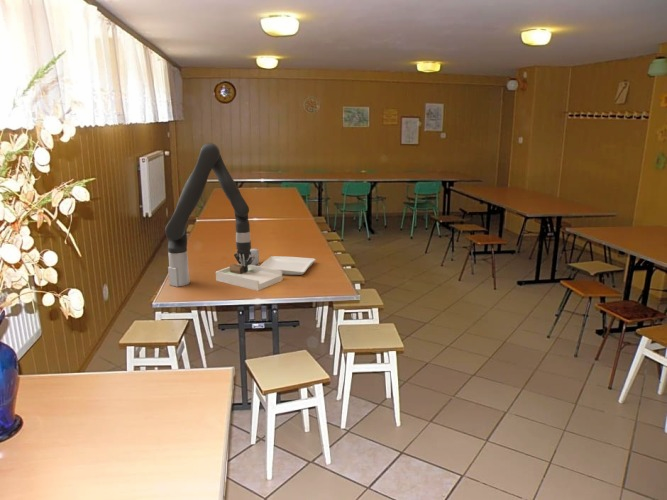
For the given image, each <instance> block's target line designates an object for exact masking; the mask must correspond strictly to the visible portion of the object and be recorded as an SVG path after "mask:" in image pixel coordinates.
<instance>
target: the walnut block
mask: <svg viewBox="0 0 667 500" xmlns="http://www.w3.org/2000/svg"><path fill="white" fill-rule="evenodd" d="M229 267H230V272H231V273H236V274H242V273H243V271H242V265H239V263H235V264H232V265H229Z"/></svg>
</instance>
